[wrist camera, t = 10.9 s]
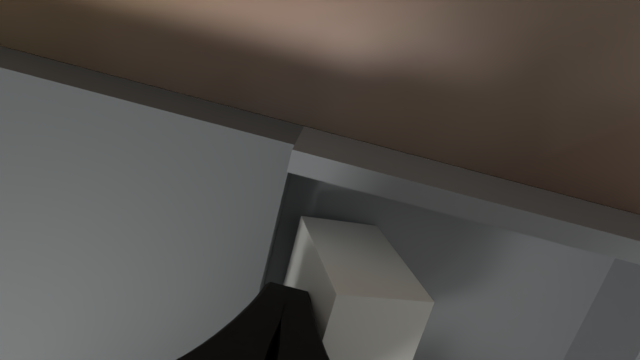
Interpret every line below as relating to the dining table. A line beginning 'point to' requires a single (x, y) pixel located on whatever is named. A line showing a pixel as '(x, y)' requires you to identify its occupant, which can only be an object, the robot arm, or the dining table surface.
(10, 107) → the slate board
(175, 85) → the dining table surface
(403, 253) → the tray
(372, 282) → the tile
